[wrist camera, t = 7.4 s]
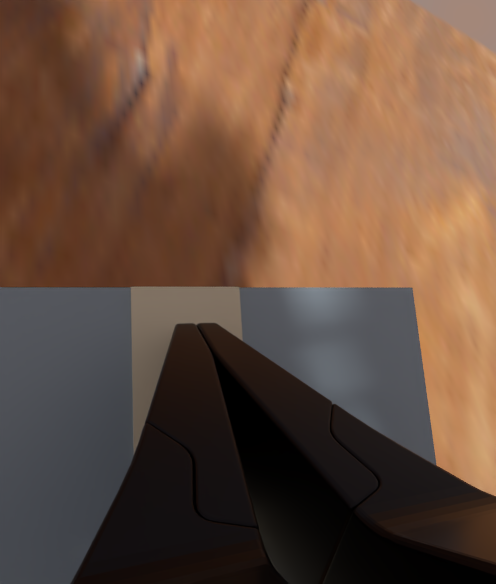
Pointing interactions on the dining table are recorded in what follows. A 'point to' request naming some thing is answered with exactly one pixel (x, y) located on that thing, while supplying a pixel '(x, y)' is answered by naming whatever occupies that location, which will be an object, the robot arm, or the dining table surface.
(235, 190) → the dining table surface
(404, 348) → the lid
